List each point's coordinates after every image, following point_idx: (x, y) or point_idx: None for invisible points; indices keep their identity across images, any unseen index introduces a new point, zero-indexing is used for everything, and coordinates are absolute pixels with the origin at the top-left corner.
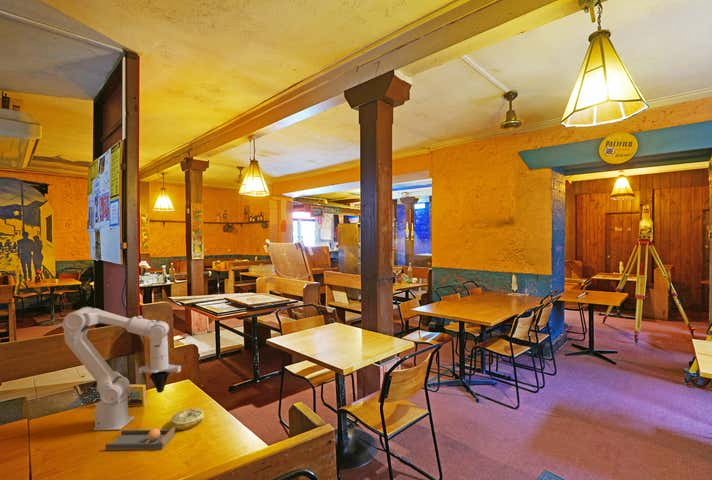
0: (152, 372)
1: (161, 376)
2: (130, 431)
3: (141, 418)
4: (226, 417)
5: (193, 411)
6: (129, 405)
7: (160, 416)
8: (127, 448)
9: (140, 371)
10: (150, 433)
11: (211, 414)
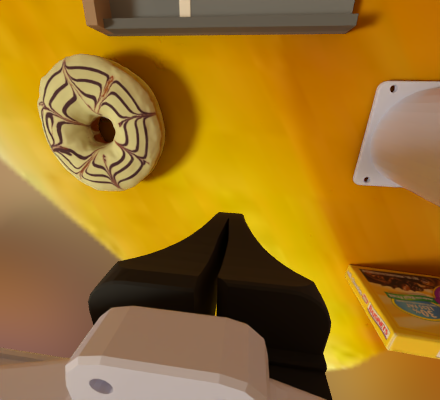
0: (210, 330)
1: (115, 270)
2: (306, 15)
3: (319, 177)
4: (7, 158)
5: (81, 154)
6: (411, 274)
7: (247, 185)
8: None
9: None
10: None
11: (69, 182)
